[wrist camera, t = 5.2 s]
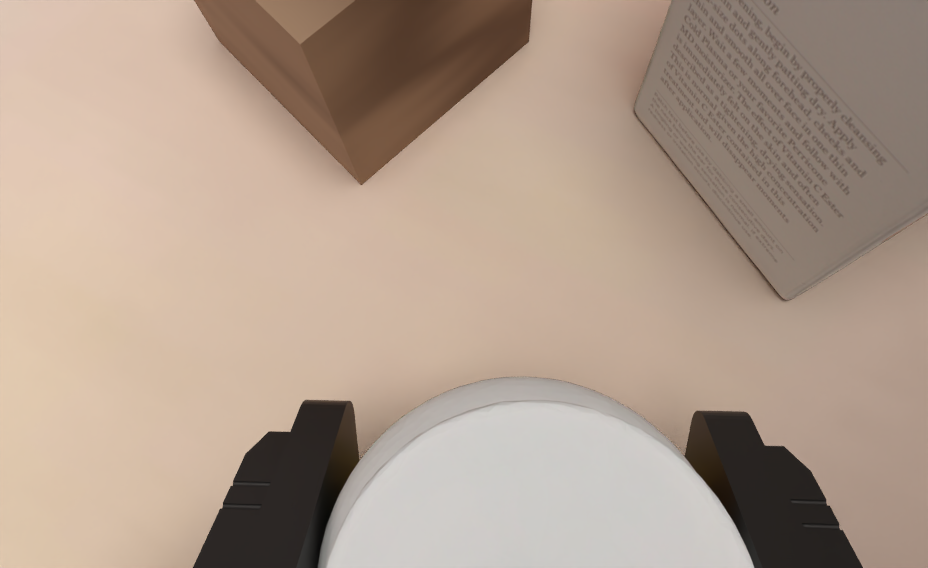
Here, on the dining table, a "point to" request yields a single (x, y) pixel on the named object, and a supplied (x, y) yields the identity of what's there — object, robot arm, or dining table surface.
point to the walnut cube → (369, 63)
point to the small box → (796, 124)
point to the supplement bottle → (527, 488)
